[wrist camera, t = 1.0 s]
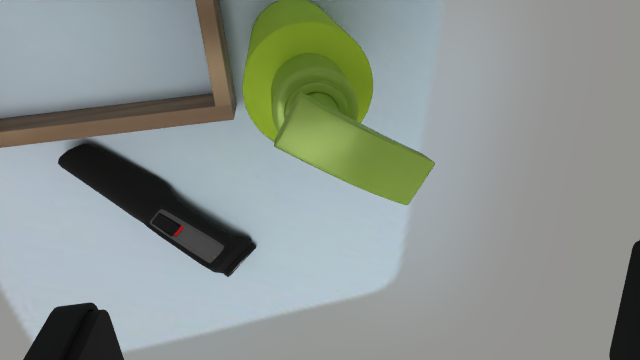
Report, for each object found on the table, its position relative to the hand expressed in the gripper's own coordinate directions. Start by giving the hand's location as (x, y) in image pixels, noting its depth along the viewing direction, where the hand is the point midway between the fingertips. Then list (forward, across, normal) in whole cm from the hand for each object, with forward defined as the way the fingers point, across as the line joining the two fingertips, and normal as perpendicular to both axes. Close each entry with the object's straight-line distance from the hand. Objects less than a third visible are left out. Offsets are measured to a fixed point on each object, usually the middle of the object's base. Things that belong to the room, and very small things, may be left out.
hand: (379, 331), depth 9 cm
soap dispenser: (+28, 0, 0) cm, 28 cm away
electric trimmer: (+29, +11, +11) cm, 33 cm away
